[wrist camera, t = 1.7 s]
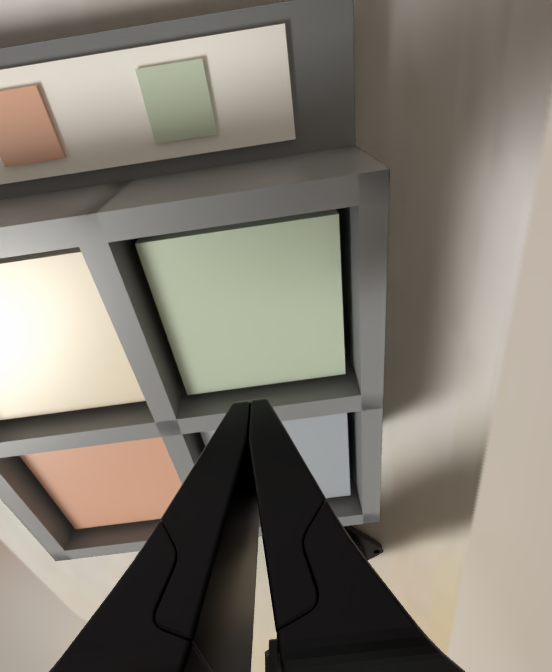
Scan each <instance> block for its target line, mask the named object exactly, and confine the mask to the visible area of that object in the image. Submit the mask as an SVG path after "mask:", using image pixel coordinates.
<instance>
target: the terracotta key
mask: <svg viewBox="0 0 552 672" xmlns="http://www.w3.org/2000/svg"><path fill="white" fill-rule="evenodd" d="M20 457H21V458H22V460H23V461H24V462H25V464H26V465H27V466H28V468H29V469H30V470H31V472H32V473H33V474H34V476H35V477H36V478H37V479H38V481H39V482H40V483H41V485H42V486H43V487H44V489H45V490H46V491H47V493H48V494H49V495H50V497H51V498H52V499H53V500H54V502H55V503H56V504H57V506H58V507H59V508H60V510H61V511H62V512H63V514H64V515H65V516H66V517H67V519H68V520H69V521H70V523H71V524H72V525H73V527H74V528H75V529H82V528H90V527H98V526H106V525H114V524H122V523H130V522H138V521H147V520H155V519H161V517H162V516H163V514H164V513H165V511H166V509H167V508H168V506H169V505H170V503H171V501H172V500H173V498H174V497H175V495H176V493H177V492H178V490H179V489H180V487H181V485H182V483H181V481H180V479H179V476H178V474H177V472H176V469H175V467H174V465H173V462H172V460H171V458H170V455H169V453H168V451H167V449H166V446H165V444H164V442H163V439H162V437H158V438H150V439H142V440H135V441H127V442H119V443H112V444H104V445H96V446H89V447H81V448H73V449H66V450H58V451H50V452H43V453H35V454H27V455H20Z"/></svg>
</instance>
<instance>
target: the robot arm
mask: <svg viewBox="0 0 552 672" xmlns="http://www.w3.org/2000/svg"><path fill="white" fill-rule="evenodd" d="M259 518H260V525H261V532H262V539H263V545H264V552H265V559H266V566H267V573H268V580H269V586H270V593H271V600H272V607H273V614H274V621H275V628H276V632H277V639H271V640H269V650H267V651H266V652H265V672H465V671H464V670H463V669H462V668H460V667H459V666H458V665H457V664H456V663H454V662H453V661H452V660H451V659H450V658H449V657H447V656H446V655H445V654H444V653H443V652H442V651H441V650H440V649H439V648H438V647H437V646H436V645H435V644H434V643H433V642H432V641H431V640H430V639H429V638H428V636H427V635H426V634H425V633H424V632H423V631H422V630H421V628H420V627H419V626H418V625H417V624H416V622H415V621H414V620H413V619H412V617H411V616H410V615H409V614H408V612H407V611H406V610H405V609H404V607H403V606H402V605H401V603H400V602H399V601H398V600H397V598H396V597H395V596H394V594H393V593H392V592H391V591H390V589H389V588H388V587H387V585H386V584H385V583H384V582H383V580H382V579H381V578H380V576H379V575H378V574H377V573H376V571H375V570H374V569H373V567H372V566H371V565H370V564H369V562H368V561H367V560H369V559H371V558H373V557H375V556H377V555H379V554H381V553H382V552H383V549H382V545H381V544H380V543H378V542H377V541H375V540H373V539H372V538H370V537H368V536H366V535H365V534H363V533H361V532H360V531H358V530H356V529H355V528H353V527H351V526H343V525H342V524H341V522H340V520H339V519H338V517H337V516H336V514H335V512H334V511H333V509H332V507H331V505H330V504H329V502H328V501H326V497H325V496H324V494H323V492H322V490H321V489H320V487H319V485H318V484H317V482H316V480H315V478H314V477H313V475H312V473H311V472H310V470H309V468H308V466H307V465H306V463H305V461H304V460H303V458H302V456H301V455H300V453H299V451H298V449H297V448H296V446H295V444H294V443H293V441H292V439H291V437H290V436H289V434H288V432H287V431H286V429H285V427H284V425H283V424H282V422H281V420H280V419H279V417H278V415H277V413H276V412H275V410H274V408H273V407H272V405H271V403H270V401H269V400H268V399H267V398H261V399H254V400H252V401H251V402H250V401H248V400H246V401H239V402H234V403H233V404H232V405H231V407H230V408H229V410H228V411H227V413H226V415H225V416H224V418H223V420H222V421H221V423H220V424H219V426H218V428H217V429H216V431H215V432H214V434H213V436H212V437H211V439H210V440H209V442H208V444H207V445H206V447H205V448H204V450H203V452H202V453H201V455H200V456H199V458H198V460H197V461H196V463H195V464H194V466H193V468H192V469H191V471H190V472H189V474H188V476H187V477H186V479H185V480H184V482H183V484H182V485H181V487H180V489H179V490H178V492H177V493H176V495H175V497H174V498H173V500H172V501H171V503H170V505H169V506H168V508H167V509H166V511H165V513H164V514H163V516H162V517H161V521H162V522H158V523H157V525H156V527H155V528H154V530H153V532H152V533H151V535H150V536H149V538H148V539H147V541H146V542H145V544H144V546H143V547H142V549H141V550H140V552H139V553H138V555H137V556H136V558H135V559H134V561H133V562H132V564H131V565H130V566H129V568H128V569H127V570H126V572H125V573H124V575H123V576H122V577H121V579H120V580H119V581H118V583H117V584H116V586H115V587H114V588H113V590H112V591H111V592H110V594H109V595H108V596H107V597H106V599H105V600H104V601H103V603H102V604H101V605H100V607H99V608H98V609H97V611H96V612H95V613H94V615H93V616H92V617H91V619H90V620H89V621H88V623H87V624H86V625H85V626H84V628H83V629H82V630H81V632H80V633H79V634H78V636H77V637H76V638H75V640H74V641H73V642H72V644H71V645H70V646H69V648H68V649H67V650H66V651H65V653H64V654H63V656H62V657H61V658H60V659H59V661H58V662H57V663H56V664H55V665H54V667H53V668H52V669H51V670H50V671H49V672H251V658H252V640H253V622H254V605H255V587H256V569H257V552H258V534H259Z"/></svg>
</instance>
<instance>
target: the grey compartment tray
mask: <svg viewBox="0 0 552 672" xmlns="http://www.w3.org/2000/svg"><path fill="white" fill-rule="evenodd" d="M389 185H390V169H389V168H388V167H386V166H385V165H383V164H382V163H380V162H379V161H377V160H376V159H374V158H373V157H371V156H370V155H368V154H367V153H365V152H364V151H362V150H361V149H360V148H358V147H357V146H355V93H354V32H353V0H290V1H284V2H278V3H272V4H266V5H260V6H254V7H247V8H241V9H235V10H229V11H223V12H217V13H211V14H205V15H199V16H193V17H187V18H181V19H175V20H169V21H163V22H157V23H151V24H145V25H139V26H132V27H126V28H120V29H114V30H108V31H102V32H96V33H90V34H84V35H78V36H72V37H66V38H60V39H54V40H48V41H42V42H36V43H30V44H24V45H17V46H11V47H5V48H0V258H7V257H13V256H20V255H27V254H34V253H41V252H47V251H54V250H61V249H68V248H75V247H79V248H80V250H81V253H82V255H83V257H84V259H85V262H86V264H87V266H88V269H89V271H90V273H91V276H92V278H93V280H94V283H95V285H96V287H97V289H98V292H99V294H100V296H101V299H102V301H103V303H104V306H105V308H106V310H107V313H108V315H109V317H110V319H111V322H112V324H113V326H114V329H115V331H116V333H117V336H118V338H119V340H120V342H121V345H122V347H123V349H124V352H125V354H126V356H127V359H128V361H129V363H130V366H131V368H132V370H133V372H134V375H135V377H136V379H137V382H138V384H139V386H140V389H141V391H142V393H143V396H144V398H145V400H146V401H140V402H133V403H125V404H118V405H110V406H103V407H96V408H88V409H81V410H73V411H66V412H58V413H51V414H43V415H36V416H28V417H21V418H13V419H6V420H0V499H1V500H2V501H3V502H4V503H5V504H6V506H7V507H8V508H9V509H10V510H11V511H12V512H13V513H14V515H15V516H16V517H17V518H18V519H19V520H20V521H21V522H22V524H23V525H24V526H25V527H26V528H27V529H28V530H29V531H30V533H31V534H32V535H33V536H34V537H35V538H36V539H37V540H38V542H39V543H40V544H41V545H42V546H43V547H44V548H45V550H46V551H47V552H48V553H49V554H50V555H51V556H52V557H53V559H54V560H55V561H60V560H69V559H77V558H85V557H93V556H102V555H110V554H118V553H127V552H135V551H140V550H141V549H142V547H143V546H144V544H145V542H146V541H147V539H148V538H149V536H150V535H151V533H152V532H153V530H154V528H155V527H156V525H157V523H158V522H162V521H161V519H155V520H147V521H138V522H130V523H122V524H114V525H106V526H98V527H90V528H82V529H75V528H74V527H73V525H72V524H71V523H70V521H69V520H68V519H67V517H66V516H65V515H64V514H63V512H62V511H61V510H60V508H59V507H58V506H57V504H56V503H55V502H54V500H53V499H52V498H51V497H50V495H49V494H48V493H47V491H46V490H45V489H44V487H43V486H42V485H41V483H40V482H39V481H38V479H37V478H36V477H35V476H34V474H33V473H32V472H31V470H30V469H29V468H28V466H27V465H26V464H25V462H24V461H23V460H22V458H21V457H20V455H27V454H35V453H43V452H50V451H58V450H66V449H73V448H81V447H89V446H96V445H104V444H112V443H119V442H127V441H135V440H142V439H150V438H158V437H162V439H163V442H164V444H165V446H166V449H167V451H168V453H169V455H170V458H171V460H172V462H173V465H174V467H175V469H176V472H177V474H178V476H179V479H180V481H181V483H182V484H183V482H184V480H185V479H186V477H187V476H188V474H189V472H190V471H191V469H192V468H193V466H194V464H195V463H196V461H197V460H198V458H199V456H200V455H201V453H202V452H203V450H204V448H205V444H204V441H203V439H202V436H201V433H200V432H204V431H212V430H216V429H217V428H218V426H219V424H220V423H221V421H222V420H223V418H224V416H225V415H226V413H227V411H228V410H229V408H230V407H231V405H232V404H233V403H234V402H239V401H246V400H248V401H250V402H251V401H252V400H254V399H261V398H267V399H268V400H269V401H270V403H271V405H272V407H273V408H274V410H275V412H276V413H277V415H278V417H279V419H280V420H281V421H288V420H296V419H304V418H311V417H319V416H327V415H334V414H342V413H347V424H348V447H349V471H350V495H349V496H341V497H333V498H326V501H328V502H329V504H330V505H331V507H332V509H333V511H334V512H335V514H336V516H337V517H338V519H339V520H340V522H341V524H342V525H343V526H350V525H358V524H366V523H375V522H380V489H381V455H382V422H383V388H384V354H385V320H386V286H387V252H388V218H389ZM333 209H336V210H337V212H338V213H339V229H340V253H341V277H342V301H343V325H344V349H345V373H346V374H342V375H335V376H327V377H320V378H312V379H305V380H297V381H290V382H282V383H275V384H267V385H260V386H252V387H245V388H237V389H230V390H222V391H215V392H207V393H200V394H192V395H187V392H186V389H185V387H184V384H183V381H182V378H181V375H180V372H179V369H178V367H177V364H176V361H175V358H174V355H173V352H172V349H171V346H170V344H169V341H168V338H167V335H166V332H165V329H164V326H163V323H162V321H161V318H160V315H159V312H158V309H157V306H156V303H155V301H154V298H153V295H152V292H151V289H150V286H149V283H148V280H147V278H146V275H145V272H144V269H143V266H142V263H141V260H140V257H139V255H138V252H137V249H136V246H135V243H136V242H137V240H138V239H139V238H142V237H149V236H156V235H163V234H170V233H176V232H183V231H190V230H197V229H204V228H210V227H217V226H224V225H231V224H237V223H244V222H251V221H258V220H265V219H271V218H278V217H285V216H292V215H299V214H305V213H312V212H319V211H326V210H333ZM259 536H262V532H261V525H260V518H259V534H258V537H259Z"/></svg>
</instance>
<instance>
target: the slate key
mask: <svg viewBox="0 0 552 672" xmlns="http://www.w3.org/2000/svg"><path fill="white" fill-rule="evenodd" d="M281 422H282V424H283V425H284V427H285V429H286V431H287V432H288V434H289V436H290V437H291V439H292V441H293V443H294V444H295V446H296V448H297V449H298V451H299V453H300V455H301V456H302V458H303V460H304V461H305V463H306V465H307V466H308V468H309V470H310V472H311V473H312V475H313V477H314V478H315V480H316V482H317V484H318V485H319V487H320V489H321V490H322V492H323V494H324V496H325V497H326V498H333V497H341V496H349V495H350V471H349V447H348V424H347V413H342V414H334V415H327V416H319V417H311V418H304V419H296V420H288V421H281ZM215 431H216V430H212V431H204V432H200V433H201V436H202V439H203V441H204V444H205V447H206V445H207V444H208V442H209V440H210V439H211V437H212V436H213V434H214V432H215Z"/></svg>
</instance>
